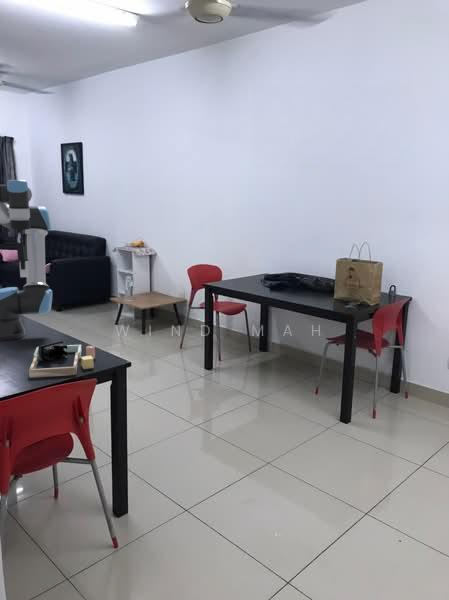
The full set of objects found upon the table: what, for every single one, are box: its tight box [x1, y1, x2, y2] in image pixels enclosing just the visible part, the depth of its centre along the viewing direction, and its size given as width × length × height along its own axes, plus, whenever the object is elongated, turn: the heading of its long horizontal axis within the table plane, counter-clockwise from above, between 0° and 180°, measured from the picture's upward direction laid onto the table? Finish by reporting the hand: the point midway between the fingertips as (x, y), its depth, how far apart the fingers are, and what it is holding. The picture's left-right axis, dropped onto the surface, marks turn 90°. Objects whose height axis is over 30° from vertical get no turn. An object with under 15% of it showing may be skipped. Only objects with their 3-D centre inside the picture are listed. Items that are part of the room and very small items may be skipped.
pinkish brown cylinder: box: [85, 345, 96, 360], centre depth 202 cm, size 4×4×5 cm
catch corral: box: [33, 344, 83, 360], centre depth 204 cm, size 10×18×3 cm, turn 104°
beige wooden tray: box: [28, 352, 80, 379], centre depth 191 cm, size 18×17×3 cm
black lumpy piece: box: [38, 340, 69, 364], centre depth 200 cm, size 10×7×7 cm
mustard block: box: [80, 355, 95, 370], centre depth 193 cm, size 4×4×4 cm
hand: (24, 276), depth 196 cm, fingers closed
